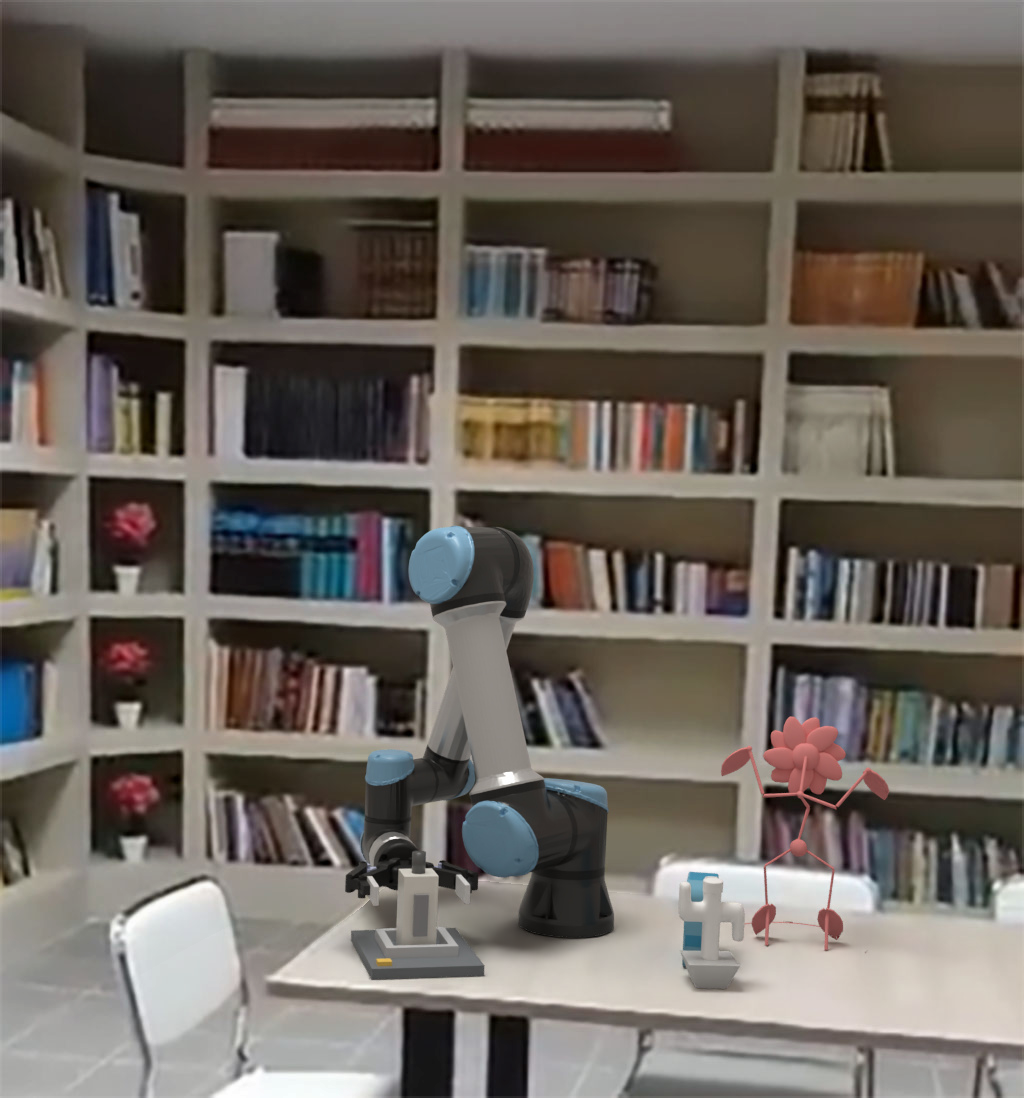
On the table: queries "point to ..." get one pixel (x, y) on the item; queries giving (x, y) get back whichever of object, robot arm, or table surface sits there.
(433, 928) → the plug
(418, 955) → the dock
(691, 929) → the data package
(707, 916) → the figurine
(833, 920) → the pink flower stick figure
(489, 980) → the table surface
